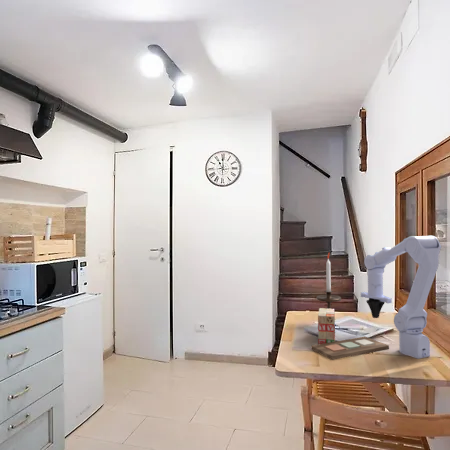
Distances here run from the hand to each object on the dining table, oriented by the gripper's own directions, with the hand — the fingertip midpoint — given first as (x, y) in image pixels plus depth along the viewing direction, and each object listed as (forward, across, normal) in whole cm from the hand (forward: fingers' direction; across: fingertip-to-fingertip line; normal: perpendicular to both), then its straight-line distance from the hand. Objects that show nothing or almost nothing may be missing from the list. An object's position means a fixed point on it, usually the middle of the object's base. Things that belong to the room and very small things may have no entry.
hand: (375, 317), depth 149 cm
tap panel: (+9, +6, -19) cm, 22 cm away
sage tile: (+9, +6, -19) cm, 22 cm away
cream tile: (+9, +6, -12) cm, 16 cm away
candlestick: (+10, -22, -6) cm, 25 cm away
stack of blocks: (+9, -10, -17) cm, 22 cm away
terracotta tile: (+9, +6, -26) cm, 28 cm away
